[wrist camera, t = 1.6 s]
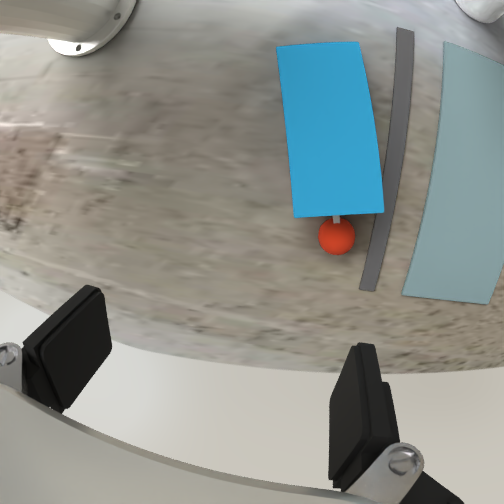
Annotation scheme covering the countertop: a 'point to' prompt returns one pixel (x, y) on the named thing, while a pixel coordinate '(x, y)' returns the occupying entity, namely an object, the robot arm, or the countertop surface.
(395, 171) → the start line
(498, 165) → the mat
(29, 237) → the countertop surface
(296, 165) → the lever
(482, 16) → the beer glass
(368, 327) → the countertop surface
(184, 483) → the robot arm
